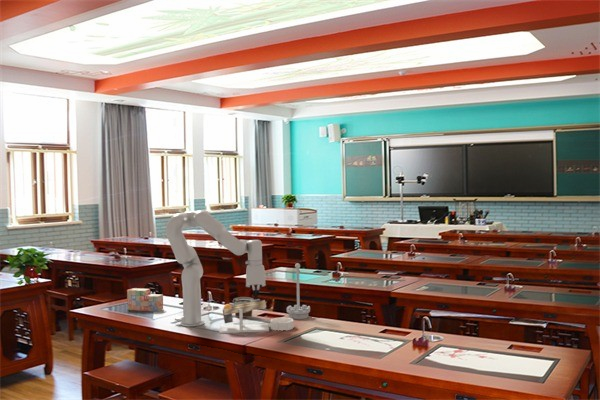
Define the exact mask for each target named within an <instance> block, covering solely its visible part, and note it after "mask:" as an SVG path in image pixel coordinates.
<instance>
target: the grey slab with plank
mask: <svg viewBox="0 0 600 400" xmlns="http://www.w3.org/2000/svg"><path fill="white" fill-rule="evenodd" d="M231 307H232V308H230V309H225V310H224V306H223V307H222V313H223V314H222V315H223V322H224V324H229V323H233V322H234V318H233V315H234V314H235V313H238V312H239V309H242V310H243V312H244V311H250V310H252V311H253V310H260V309H265V308H267V304H266V300H265V299H263V300H261V298H257V299H256V298H255V299H253V300H251V303H246V304H240V305H235V306H234V305H231Z"/></svg>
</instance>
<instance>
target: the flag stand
mask: <svg viewBox="0 0 600 400" xmlns="http://www.w3.org/2000/svg"><path fill="white" fill-rule="evenodd" d="M294 268H296V270H295V271H296V304H294V305H293V306H292V305H288V306H287V307H286V313H288V318H292V319H293V320H303V319H308V318H309V313H310V312H311V306H310V305H308V306H307V304H302V305H301V303H300V301H301V300H300V293H301V292H300V268H301V264H300V263H298V262H297V263H295V265H294ZM307 317H308V318H307Z"/></svg>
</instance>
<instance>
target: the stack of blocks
mask: <svg viewBox="0 0 600 400" xmlns="http://www.w3.org/2000/svg"><path fill="white" fill-rule="evenodd" d="M126 293H127V294H126V297H127V298H126V299H127V310H130V311H143V312H156V313H158V312H160V311H163V310H164V294H156V293H151V289H150V288H137V287H134V288H130V289H127V290H126Z"/></svg>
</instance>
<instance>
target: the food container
mask: <svg viewBox="0 0 600 400" xmlns="http://www.w3.org/2000/svg"><path fill="white" fill-rule="evenodd" d="M251 300H254V297H250V296H249V297H247V296H240V297H235V298H233V300H232V303H233V306H235V305H240V304H246V303H251ZM234 316H235V318H239V312H238V313H234ZM247 317H248V318H252V317H253V310H250V311H244V312H243V318H247Z"/></svg>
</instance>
